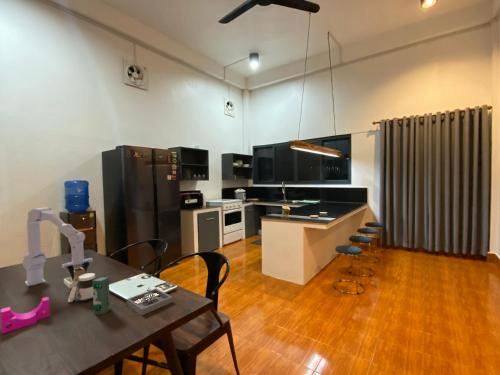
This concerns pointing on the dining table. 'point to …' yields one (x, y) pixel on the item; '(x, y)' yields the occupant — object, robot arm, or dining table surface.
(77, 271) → the pine crate
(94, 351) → the dining table surface
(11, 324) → the magenta saddle bracket
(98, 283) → the can
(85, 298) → the spread jar
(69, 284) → the white square tray
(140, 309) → the grey square tray
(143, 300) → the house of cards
